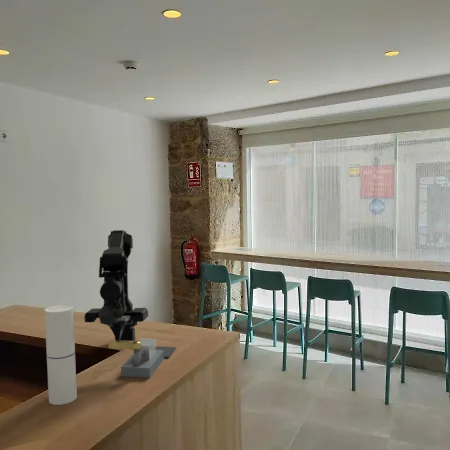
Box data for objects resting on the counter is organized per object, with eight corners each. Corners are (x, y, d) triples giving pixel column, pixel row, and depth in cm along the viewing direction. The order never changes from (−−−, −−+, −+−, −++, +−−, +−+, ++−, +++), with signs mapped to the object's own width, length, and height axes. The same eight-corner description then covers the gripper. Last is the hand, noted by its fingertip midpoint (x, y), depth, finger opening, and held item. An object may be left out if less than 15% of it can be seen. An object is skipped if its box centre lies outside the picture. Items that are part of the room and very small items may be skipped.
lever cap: (134, 359, 139) (133, 345, 138) (141, 351, 146) (141, 338, 145) (149, 360, 138) (149, 346, 138) (156, 352, 145) (155, 338, 145)
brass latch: (139, 351, 133) (139, 344, 132) (107, 348, 135) (107, 341, 135) (142, 348, 135) (142, 341, 135) (111, 345, 137) (111, 339, 137)
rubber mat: (134, 356, 149) (134, 355, 149) (143, 347, 158) (143, 345, 158) (168, 358, 147) (168, 356, 147) (175, 348, 156) (175, 347, 156)
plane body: (121, 376, 134) (120, 352, 133) (138, 357, 148) (137, 335, 148) (149, 377, 132) (149, 353, 132) (164, 358, 147) (163, 336, 146)
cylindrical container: (50, 407, 115) (46, 313, 113) (47, 396, 121) (43, 307, 119) (78, 400, 118) (75, 309, 116) (74, 390, 125) (71, 303, 123)
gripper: (74, 300, 129) (78, 351, 130) (135, 299, 126) (139, 351, 128) (90, 290, 140) (94, 338, 141) (147, 289, 137) (150, 337, 139)
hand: (118, 341), depth 137 cm, fingers closed, pressing on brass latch
